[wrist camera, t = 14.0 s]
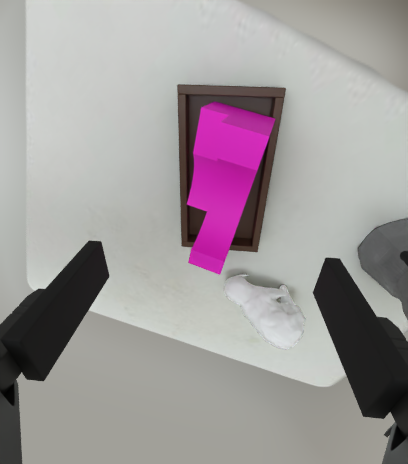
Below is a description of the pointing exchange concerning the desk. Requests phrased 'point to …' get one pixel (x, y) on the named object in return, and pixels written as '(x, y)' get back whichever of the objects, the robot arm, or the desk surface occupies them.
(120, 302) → the desk surface
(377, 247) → the coffeepot
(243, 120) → the magenta curved bracket
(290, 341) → the white lumpy piece
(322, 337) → the desk surface
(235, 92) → the dark brown rectangular tray
